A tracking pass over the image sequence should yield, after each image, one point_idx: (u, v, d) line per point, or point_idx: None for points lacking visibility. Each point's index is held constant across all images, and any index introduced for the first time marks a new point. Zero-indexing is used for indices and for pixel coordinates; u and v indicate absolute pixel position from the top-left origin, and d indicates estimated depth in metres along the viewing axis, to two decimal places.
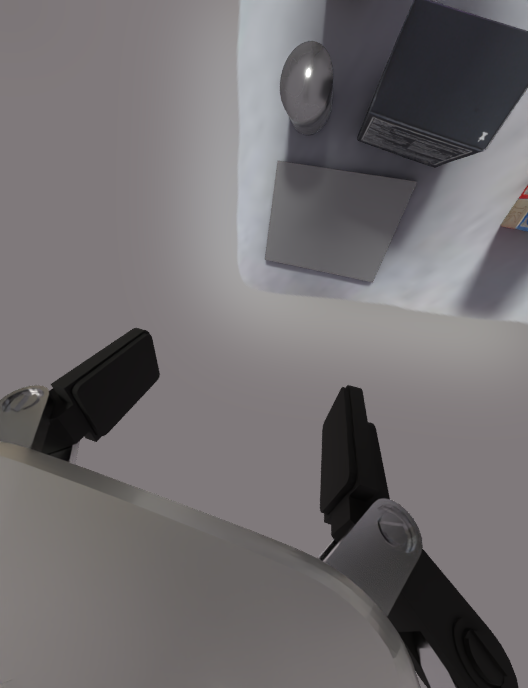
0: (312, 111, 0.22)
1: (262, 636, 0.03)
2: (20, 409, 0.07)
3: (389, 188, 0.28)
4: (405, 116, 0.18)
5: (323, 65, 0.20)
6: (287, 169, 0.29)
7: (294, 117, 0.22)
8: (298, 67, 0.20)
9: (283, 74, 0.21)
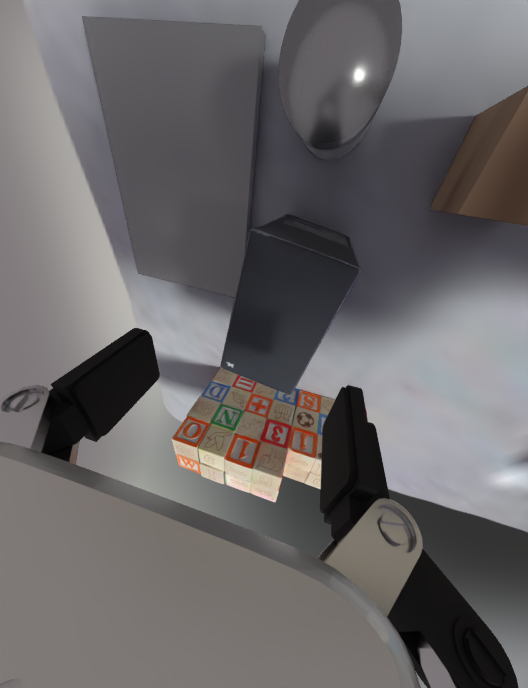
0: (289, 99, 0.10)
1: (262, 636, 0.03)
2: (20, 409, 0.07)
3: (233, 270, 0.22)
4: (244, 285, 0.13)
5: (350, 113, 0.10)
6: (247, 63, 0.14)
7: (284, 41, 0.09)
8: (364, 32, 0.09)
9: None
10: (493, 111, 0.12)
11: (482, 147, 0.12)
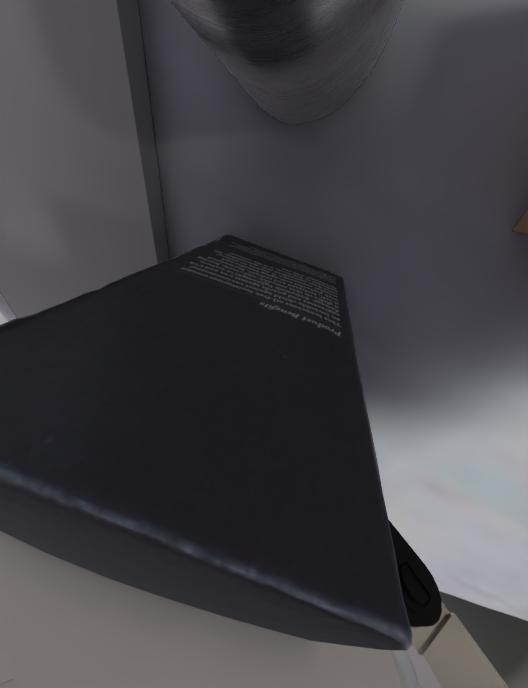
0: None
1: (262, 636, 0.03)
2: None
3: None
4: None
5: None
6: None
7: None
8: None
9: None
10: None
11: None
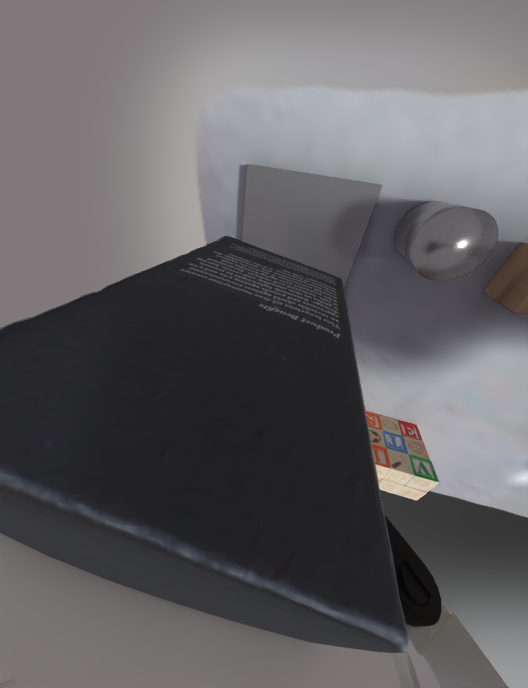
0: (419, 261, 0.17)
1: (262, 636, 0.03)
2: None
3: None
4: None
5: (460, 268, 0.17)
6: (367, 203, 0.21)
7: (420, 237, 0.16)
8: (474, 235, 0.15)
9: (477, 213, 0.15)
10: None
11: None
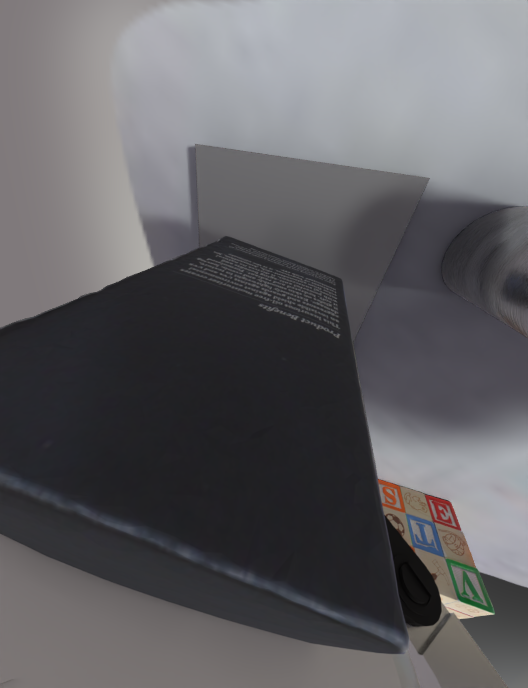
0: None
1: (262, 636, 0.03)
2: None
3: None
4: None
5: None
6: (399, 210, 0.12)
7: None
8: None
9: None
10: None
11: None
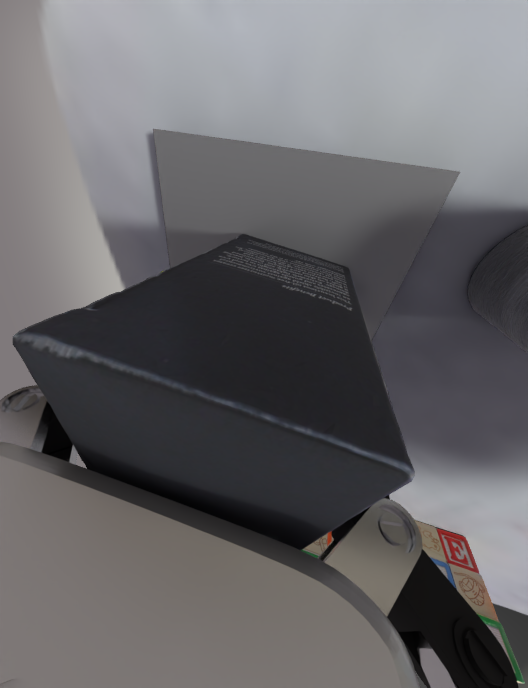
0: None
1: (262, 636, 0.03)
2: (20, 409, 0.07)
3: None
4: (85, 450, 0.05)
5: None
6: (417, 214, 0.09)
7: None
8: None
9: None
10: None
11: None
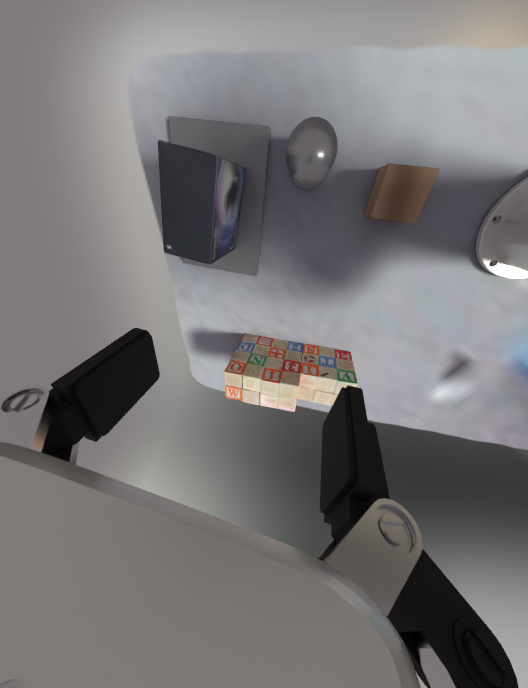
0: (298, 174, 0.23)
1: (262, 636, 0.03)
2: (20, 409, 0.07)
3: (250, 256, 0.35)
4: (163, 179, 0.22)
5: (327, 160, 0.22)
6: (261, 142, 0.27)
7: (287, 159, 0.22)
8: (317, 135, 0.21)
9: (307, 121, 0.21)
10: (382, 169, 0.25)
11: (378, 186, 0.25)
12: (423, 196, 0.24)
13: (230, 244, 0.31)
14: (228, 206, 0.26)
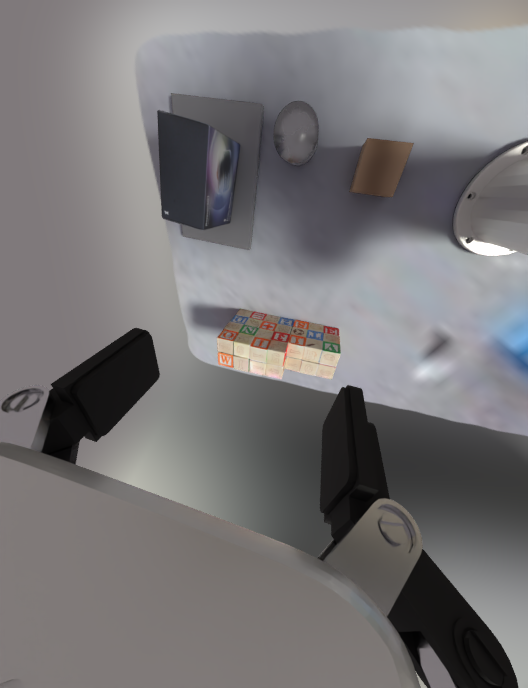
0: (287, 157, 0.26)
1: (262, 636, 0.03)
2: (20, 409, 0.07)
3: (244, 231, 0.37)
4: (161, 147, 0.25)
5: (311, 137, 0.24)
6: (255, 119, 0.29)
7: (275, 146, 0.25)
8: (298, 117, 0.24)
9: (287, 107, 0.23)
10: (363, 146, 0.27)
11: (359, 161, 0.27)
12: (399, 170, 0.26)
13: (224, 216, 0.33)
14: (221, 177, 0.28)
